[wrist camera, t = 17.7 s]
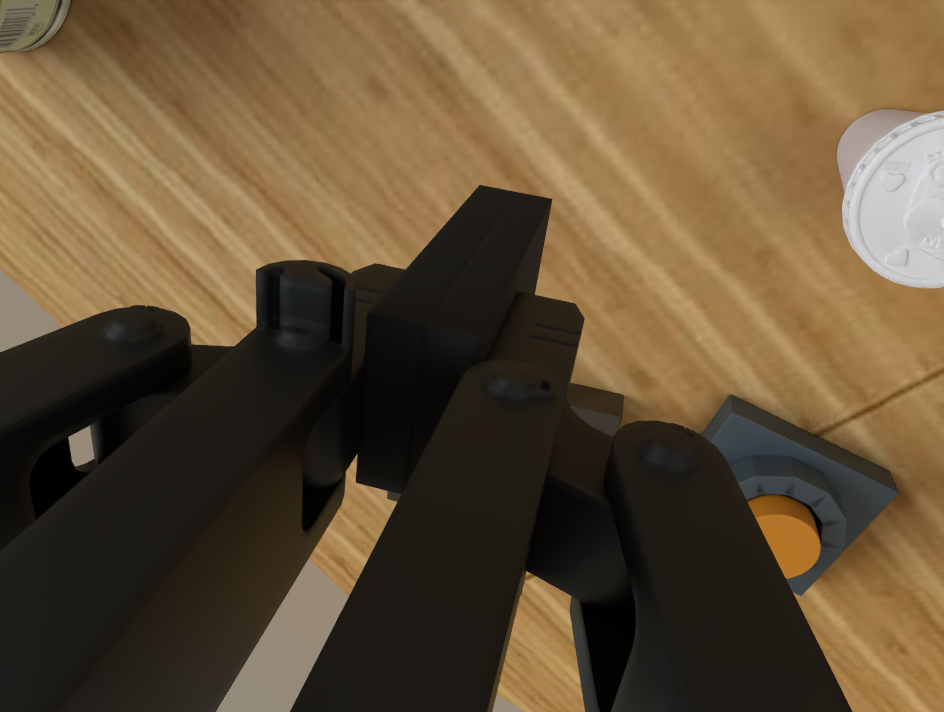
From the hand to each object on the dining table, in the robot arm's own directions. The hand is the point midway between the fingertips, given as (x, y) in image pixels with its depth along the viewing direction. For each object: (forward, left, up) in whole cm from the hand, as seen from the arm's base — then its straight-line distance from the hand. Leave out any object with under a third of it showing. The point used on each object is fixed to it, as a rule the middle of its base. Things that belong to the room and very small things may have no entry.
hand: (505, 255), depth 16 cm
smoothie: (+13, +3, -25) cm, 28 cm away
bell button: (+19, -16, -21) cm, 32 cm away
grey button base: (+19, -16, -24) cm, 35 cm away
